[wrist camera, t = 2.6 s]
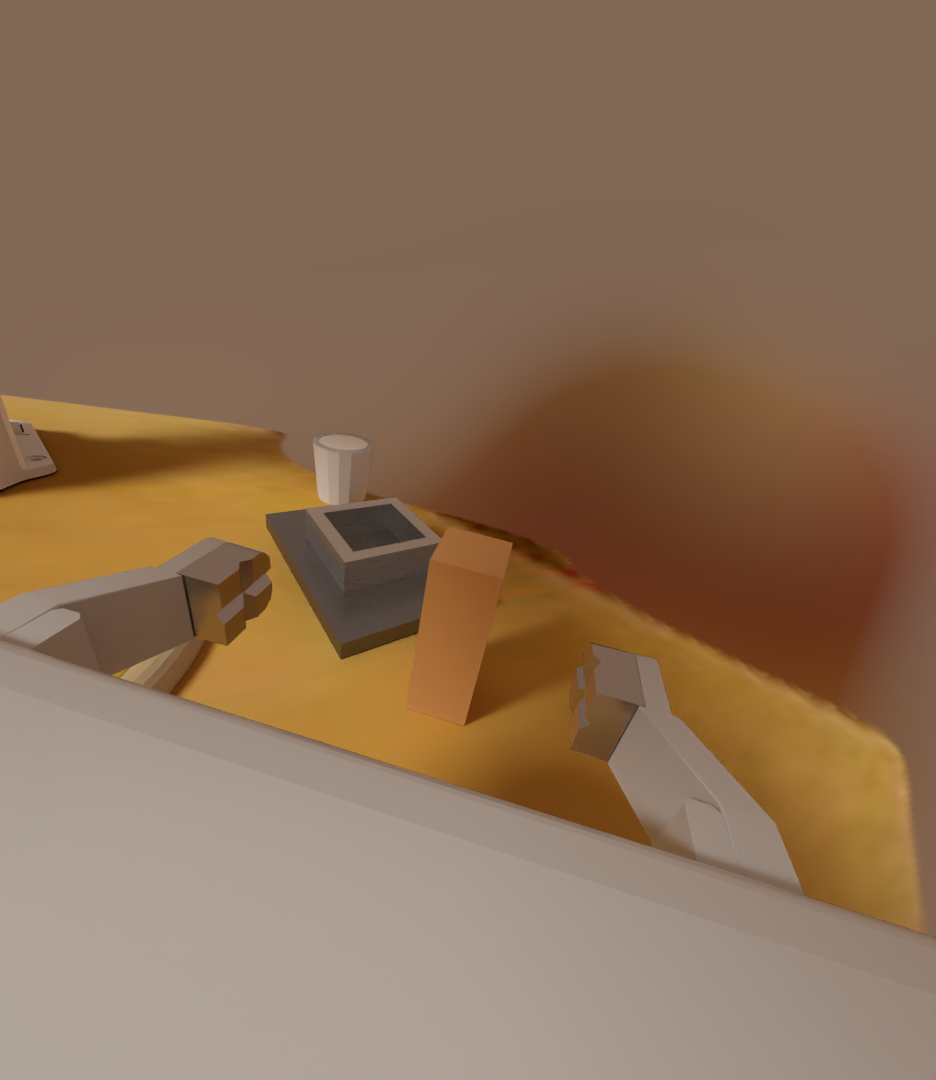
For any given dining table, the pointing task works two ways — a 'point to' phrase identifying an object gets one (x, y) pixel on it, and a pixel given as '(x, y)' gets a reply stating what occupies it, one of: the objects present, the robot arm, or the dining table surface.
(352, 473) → the white tapered cup
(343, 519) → the square socket plate
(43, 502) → the dining table surface
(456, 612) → the orange rectangular block
